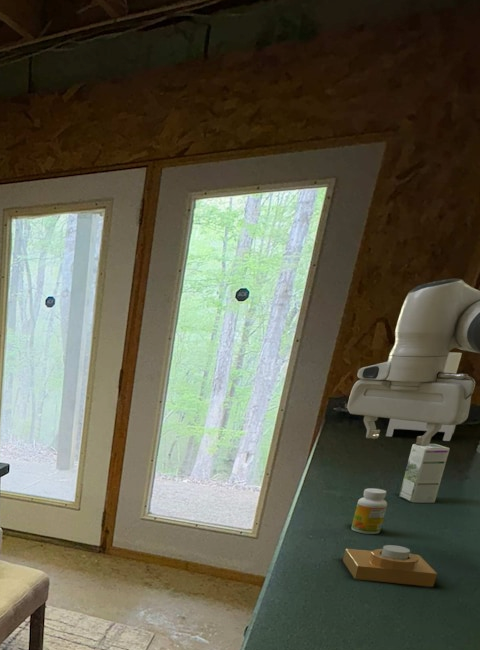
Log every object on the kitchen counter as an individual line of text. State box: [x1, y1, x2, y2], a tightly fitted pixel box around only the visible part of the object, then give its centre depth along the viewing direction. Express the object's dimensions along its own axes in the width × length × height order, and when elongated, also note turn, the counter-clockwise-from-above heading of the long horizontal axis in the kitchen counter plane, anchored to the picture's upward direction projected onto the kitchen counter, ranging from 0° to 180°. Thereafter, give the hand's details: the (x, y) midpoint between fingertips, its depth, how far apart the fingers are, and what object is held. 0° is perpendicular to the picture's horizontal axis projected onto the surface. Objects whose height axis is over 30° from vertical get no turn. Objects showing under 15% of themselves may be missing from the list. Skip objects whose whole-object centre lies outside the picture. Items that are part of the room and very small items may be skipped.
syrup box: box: [398, 443, 450, 504], centre depth 162 cm, size 6×6×14 cm
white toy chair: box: [385, 351, 463, 442], centre depth 235 cm, size 19×19×30 cm
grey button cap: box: [381, 544, 411, 560], centre depth 118 cm, size 4×4×2 cm
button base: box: [342, 548, 438, 588], centre depth 120 cm, size 12×10×5 cm
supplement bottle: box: [350, 487, 388, 535], centre depth 143 cm, size 5×5×10 cm
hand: (396, 441), depth 126 cm, fingers open, 8 cm apart
